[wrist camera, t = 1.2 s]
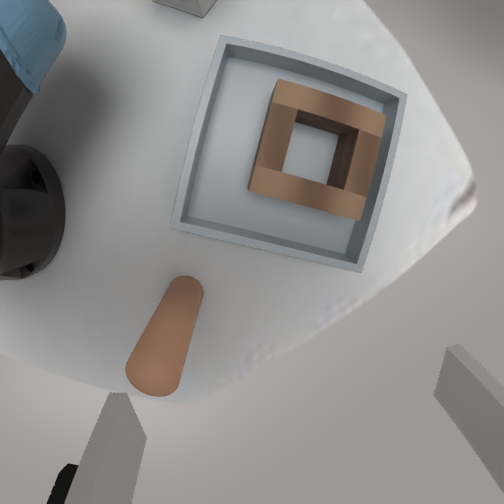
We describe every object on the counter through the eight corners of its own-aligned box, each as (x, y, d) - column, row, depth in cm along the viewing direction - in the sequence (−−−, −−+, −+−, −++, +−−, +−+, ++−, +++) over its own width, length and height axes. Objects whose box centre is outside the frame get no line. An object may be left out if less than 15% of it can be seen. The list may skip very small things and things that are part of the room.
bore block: (247, 187, 28) (248, 191, 23) (271, 94, 26) (278, 78, 21) (339, 212, 29) (359, 221, 24) (362, 123, 27) (386, 115, 22)
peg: (166, 303, 32) (124, 388, 18) (171, 272, 31) (126, 346, 17) (199, 311, 32) (175, 401, 18) (206, 280, 31) (182, 361, 17)
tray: (179, 220, 29) (169, 228, 25) (222, 51, 25) (220, 35, 21) (347, 260, 31) (361, 273, 27) (388, 101, 27) (407, 94, 23)
